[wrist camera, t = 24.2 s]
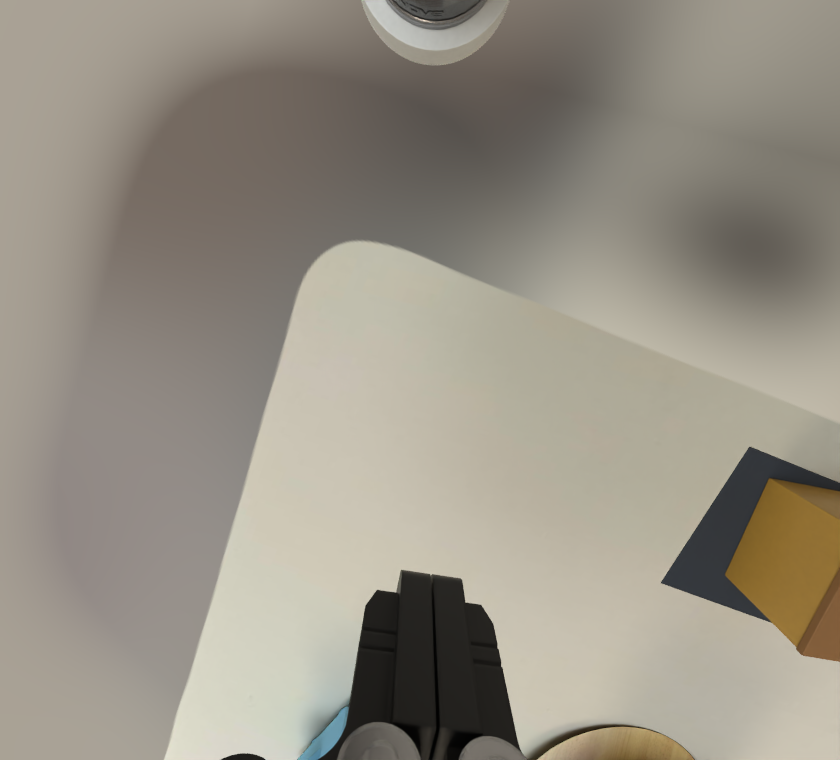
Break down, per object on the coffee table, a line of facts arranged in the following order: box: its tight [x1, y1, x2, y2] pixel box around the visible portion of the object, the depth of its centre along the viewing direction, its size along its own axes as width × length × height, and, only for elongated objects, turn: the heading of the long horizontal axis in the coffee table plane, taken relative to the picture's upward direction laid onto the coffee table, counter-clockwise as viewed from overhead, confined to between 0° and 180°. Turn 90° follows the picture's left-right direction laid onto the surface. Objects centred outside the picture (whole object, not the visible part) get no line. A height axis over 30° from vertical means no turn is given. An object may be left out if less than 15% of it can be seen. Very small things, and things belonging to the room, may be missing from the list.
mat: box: [661, 447, 840, 623], centre depth 42 cm, size 16×22×1 cm
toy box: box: [725, 478, 840, 662], centre depth 37 cm, size 9×11×9 cm
